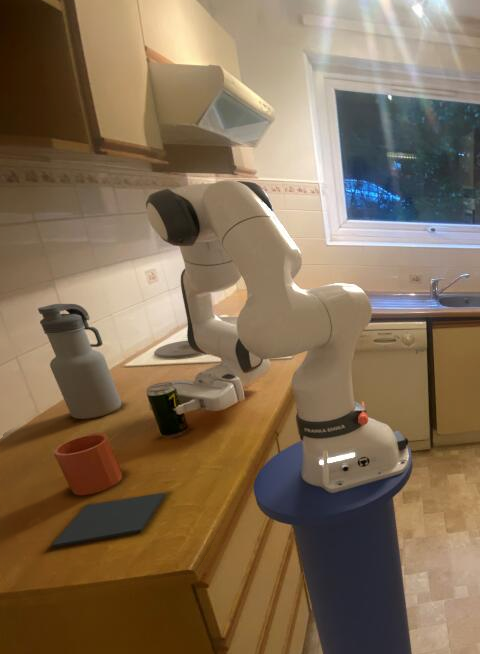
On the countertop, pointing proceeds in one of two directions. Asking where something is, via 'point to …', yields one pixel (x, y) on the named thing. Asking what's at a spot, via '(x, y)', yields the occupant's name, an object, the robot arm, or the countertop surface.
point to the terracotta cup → (88, 464)
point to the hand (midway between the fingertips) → (163, 409)
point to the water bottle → (79, 362)
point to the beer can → (166, 409)
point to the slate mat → (110, 519)
